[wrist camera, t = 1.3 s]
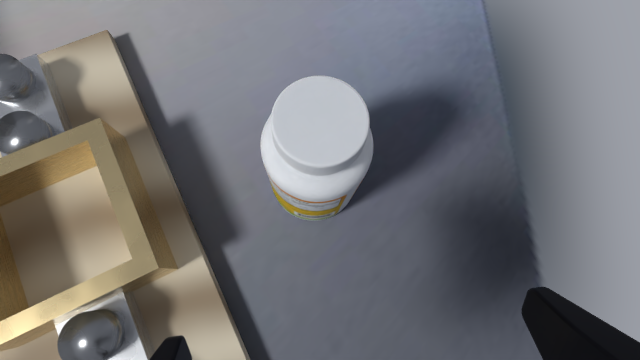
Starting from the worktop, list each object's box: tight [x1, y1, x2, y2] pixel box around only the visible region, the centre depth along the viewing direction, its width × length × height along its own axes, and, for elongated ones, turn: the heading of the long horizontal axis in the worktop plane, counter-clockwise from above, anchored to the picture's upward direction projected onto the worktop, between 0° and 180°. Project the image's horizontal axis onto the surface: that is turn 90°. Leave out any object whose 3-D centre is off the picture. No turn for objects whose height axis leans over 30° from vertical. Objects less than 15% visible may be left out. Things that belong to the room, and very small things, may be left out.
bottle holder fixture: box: [0, 54, 178, 360], centre depth 20 cm, size 23×9×3 cm, turn 27°
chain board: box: [0, 30, 250, 360], centre depth 22 cm, size 25×12×1 cm, turn 27°
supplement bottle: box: [261, 76, 373, 221], centre depth 19 cm, size 5×5×10 cm
